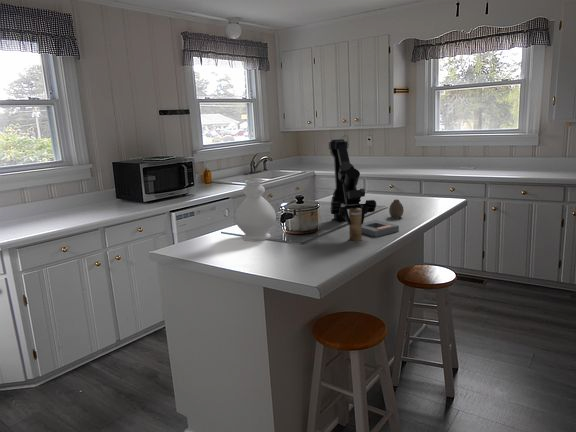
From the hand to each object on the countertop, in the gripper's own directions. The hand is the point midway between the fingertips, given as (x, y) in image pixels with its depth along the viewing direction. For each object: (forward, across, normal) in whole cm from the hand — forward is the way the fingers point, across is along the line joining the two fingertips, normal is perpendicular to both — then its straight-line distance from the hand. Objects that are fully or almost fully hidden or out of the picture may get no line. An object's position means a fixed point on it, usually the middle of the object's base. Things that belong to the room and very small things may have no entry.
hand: (356, 224), depth 191 cm
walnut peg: (+4, 0, +6) cm, 7 cm away
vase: (-20, +28, +30) cm, 46 cm away
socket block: (-4, +11, +14) cm, 18 cm away
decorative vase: (-4, -42, +14) cm, 44 cm away
